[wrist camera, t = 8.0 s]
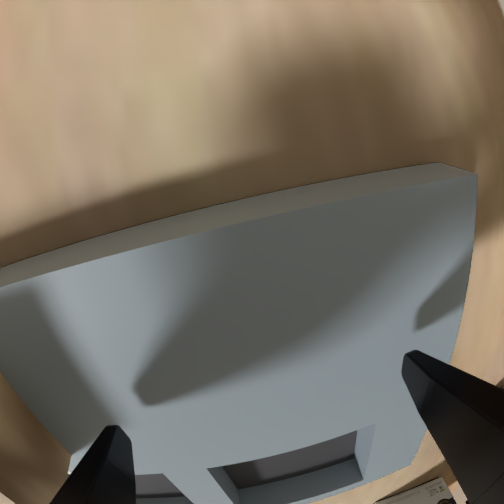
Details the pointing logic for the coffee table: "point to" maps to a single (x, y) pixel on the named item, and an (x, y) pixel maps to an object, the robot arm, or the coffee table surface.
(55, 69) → the coffee table surface
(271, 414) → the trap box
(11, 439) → the block
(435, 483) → the tea box
